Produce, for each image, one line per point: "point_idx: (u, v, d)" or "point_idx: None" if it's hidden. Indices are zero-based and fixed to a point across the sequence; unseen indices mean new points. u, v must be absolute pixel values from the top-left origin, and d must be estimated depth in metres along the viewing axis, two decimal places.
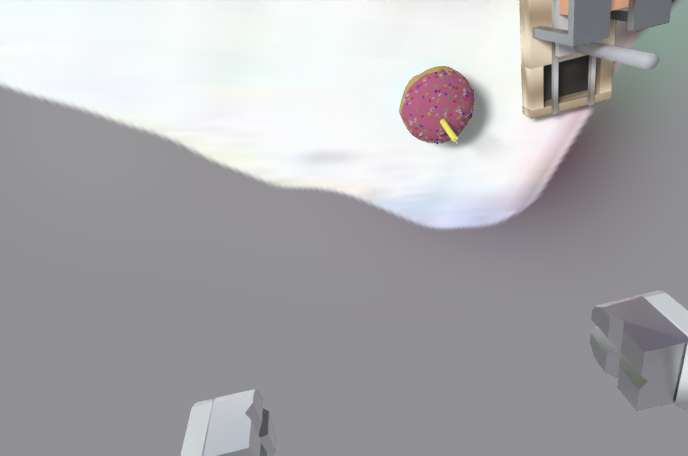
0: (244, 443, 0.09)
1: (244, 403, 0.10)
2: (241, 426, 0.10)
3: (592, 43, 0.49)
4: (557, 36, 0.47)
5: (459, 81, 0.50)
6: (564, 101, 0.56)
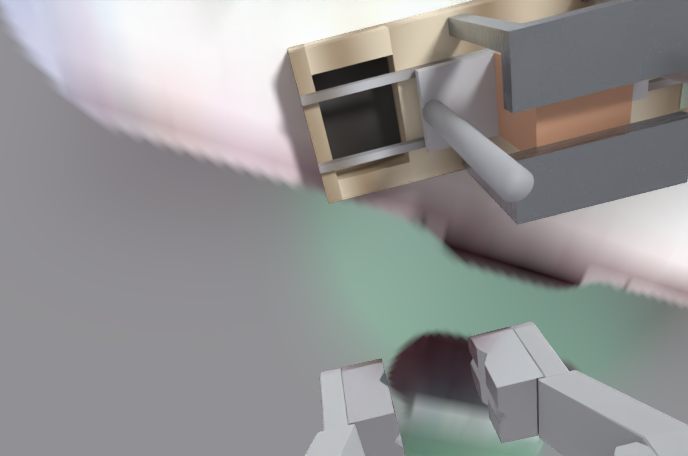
0: (389, 408, 0.09)
1: (375, 370, 0.10)
2: (379, 392, 0.09)
3: None
4: (494, 22, 0.22)
5: None
6: (322, 119, 0.29)
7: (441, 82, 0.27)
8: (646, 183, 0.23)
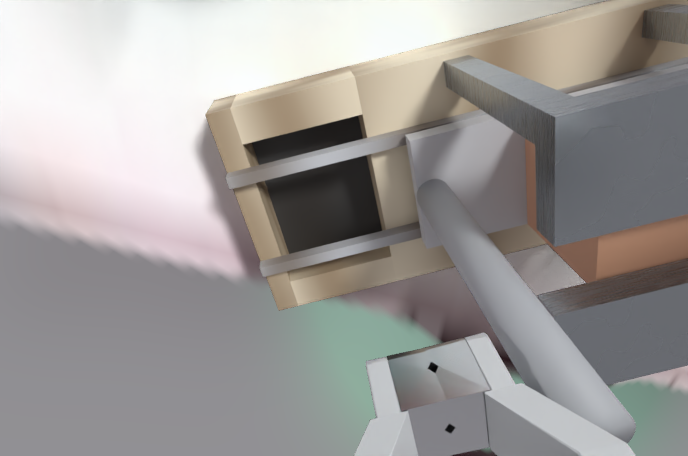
0: (441, 395, 0.09)
1: (423, 359, 0.10)
2: (429, 380, 0.09)
3: None
4: (520, 85, 0.13)
5: None
6: (263, 201, 0.20)
7: (444, 155, 0.18)
8: None
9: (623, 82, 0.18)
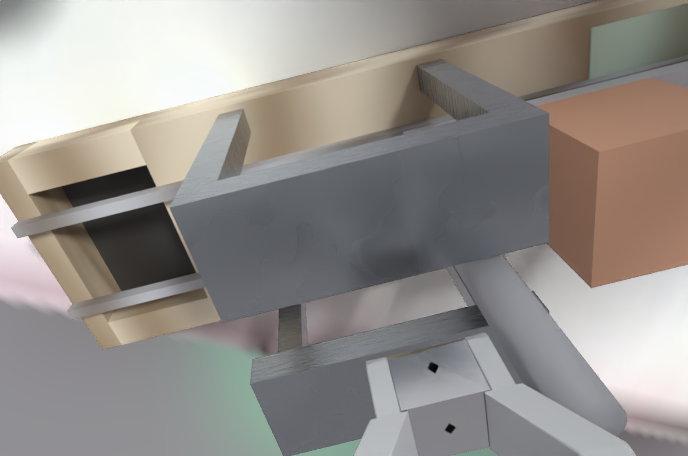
0: (440, 395, 0.09)
1: (422, 359, 0.10)
2: (429, 380, 0.09)
3: None
4: (212, 157, 0.13)
5: None
6: (66, 247, 0.20)
7: None
8: None
9: (620, 80, 0.18)
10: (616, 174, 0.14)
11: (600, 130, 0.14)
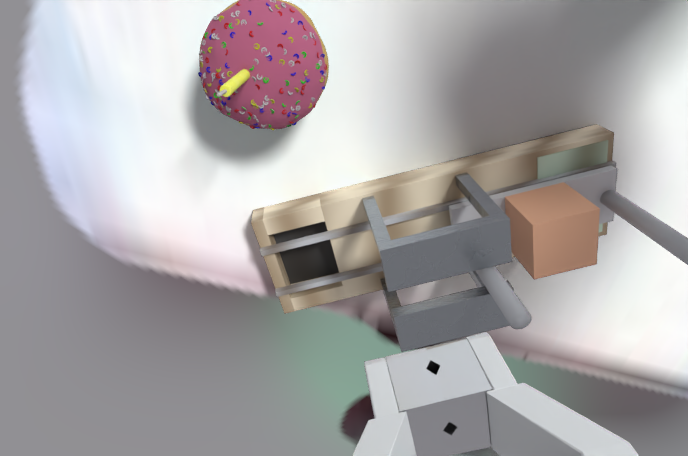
0: (439, 396, 0.09)
1: (420, 360, 0.10)
2: (428, 381, 0.09)
3: None
4: (380, 227, 0.33)
5: (310, 97, 0.31)
6: (277, 260, 0.41)
7: (467, 215, 0.38)
8: (486, 326, 0.35)
9: (551, 182, 0.38)
10: (540, 233, 0.34)
11: (535, 213, 0.35)
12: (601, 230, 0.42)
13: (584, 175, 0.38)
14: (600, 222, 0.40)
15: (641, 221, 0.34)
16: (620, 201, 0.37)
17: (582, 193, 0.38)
